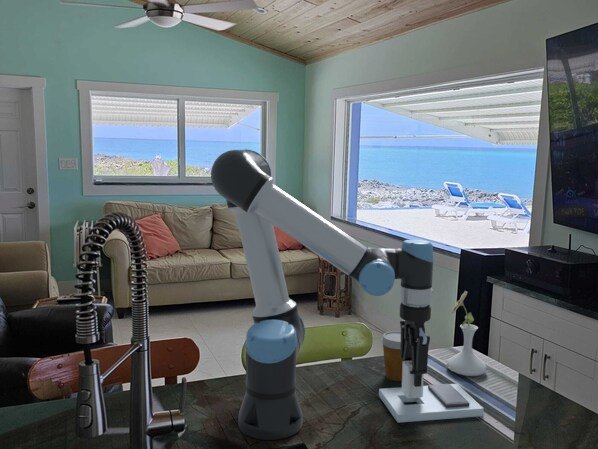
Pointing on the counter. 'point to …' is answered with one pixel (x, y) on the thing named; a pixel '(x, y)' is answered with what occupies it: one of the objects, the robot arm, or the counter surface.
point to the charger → (408, 378)
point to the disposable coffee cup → (392, 355)
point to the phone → (448, 395)
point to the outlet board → (426, 406)
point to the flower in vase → (466, 348)
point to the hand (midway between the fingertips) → (411, 392)
